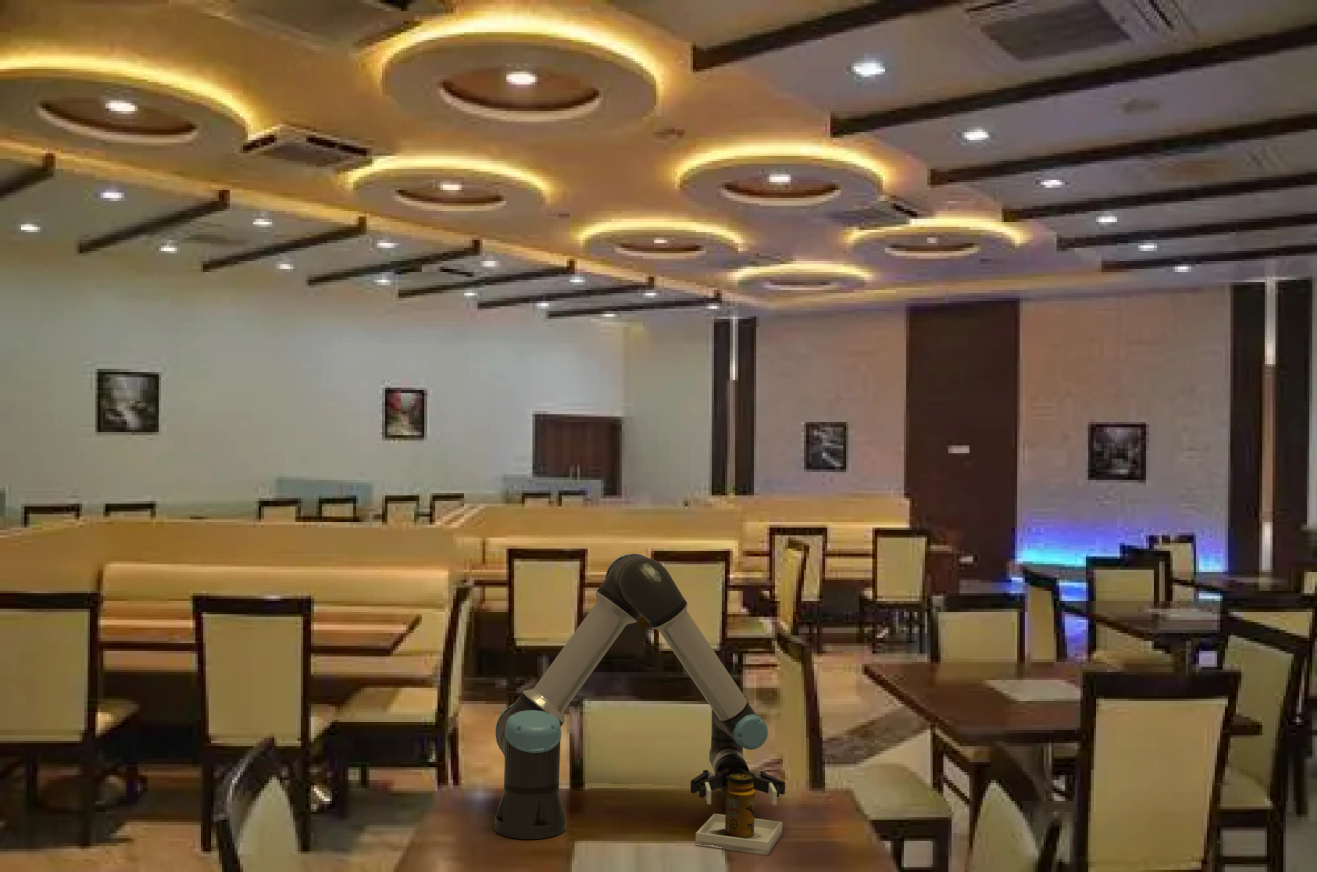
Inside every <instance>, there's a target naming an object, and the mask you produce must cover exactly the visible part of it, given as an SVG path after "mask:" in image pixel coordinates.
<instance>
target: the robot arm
mask: <svg viewBox="0 0 1317 872" xmlns="http://www.w3.org/2000/svg"><path fill="white" fill-rule="evenodd" d="M595 598H596V599H595V600H596V601H595V604H594V605H593V606H592V608H591V609H590V611H589V612H588V613H587V615H586V616H585V617H584V619H583V620H582V621H581V623H580V625H578V627H577V628H576V630H575V631H574V632H573V634H572V636H571V637H570V638H569V640H568V641H567V642H566V643H565V645H564V646H563V648H561V650H560V652H559V653H558V654H557V656H556V657H555V659H554V660H553V661H552V663H551V664H550V665H549V667H548V668H547V669H546V671H545V672H544V674H543V675H542V676H541V678H540V679H539V680H538V682H537V683H536V684H535V686H534V687H533V688H531V689H526V690H523V691H522V692H521V694H520V695H519V696H518V698H517V699H515V700H516V701H515V702H514V703H512V704H511V705H509V706H507V707H506V708H505V709H504V710H503V711H502V712H501V714H500V715H499V717H498V719H497V721H496V725H495V739H496V743H497V746H498V748H499V749H500V751H501V753H502V755H503V756H504V769H503V771H504V773H503V774H504V776H503V777H504V778H503V781H504V782H503V792H502V796H501V798H500V802H499V803H498V807H497V811H496V813H495V816H494V823H493V825H494V831H495V832H496V833H498V834H499V835H501V836H503V837H506V838H510V839H511V838H512V839H518V840H540V839H545V838H552V837H555V836H558V835H560V834H563V832H565V831H566V829H567V815H566V811H565V807H564V804H563V801H562V797H561V794H560V763H561V739H562V729H561V727H562V726H563V725H564V723H565V722H566V721H565V720H566V719H565V710H566V709H567V708H568V706H569V705H570V703H571V702H572V701H573V699H574V698H575V697H576V695H577V694H578V693H579V691H580V690H581V688H582V687H583V685H584V684H585V683H586V681H587V680H588V678H589V677H590V676H591V675H592V673H593V672H594V670H595V669H596V668H597V666H598V665H599V663H600V662H601V661H602V659H603V658H604V656H606V653H608V651H609V650H610V648H611V647H612V645H613V644H614V642H615V641H616V640H617V639H618V637H619V635H620V634H621V633H622V632H623V630H624V629H625V628H626V626H627V625H630V624H634V623H637V622H638V621H639V619H640V618H641V617H642V618H644V620H645V621H646V622H647V623H648V625H649V626H650V628H651V629H653V630H657V631H659V633H660V634H661V636H662V637H663V639H664V640H665V642H666V643H667V645H668V647H669V648H670V649H671V651H672V652H673V653H674V655H675V656H676V658H677V659H678V661H679V662H680V664H681V665H682V667H683V668H684V670H685V671H686V673H687V674H688V676H689V677H690V678H691V679H692V681H693V683H694V684H695V686H696V687H697V688H698V690H699V692H700V693H701V694H702V696H703V698H704V699H705V701H706V702H707V703H708V705H709V706H710V708H711V737H710V748H709V752H708V753H709V756H708V758H709V762H710V765H711V766H712V769H713V774H712V773H711V772H710V771H709V770H708V769H704V770H703V771H702V772H701V773H700V774H699V775H697V776H696V777H694V778H692V779H691V780H690V793H691V794H696V793H697V792H698V797H699V798H702V799H703V798H705V801H706V804H707V805H712V792H713V791H716V790H725V791H726V790H727V788H728V782H729V781H728V778H729V776H730V775H731V774H748V775H750V776H752V777H753V789H754V791H759V792H763V793H766V794H768V798H769V800H770V802H771V804H772V806H777V804H778V803H777V800H778V798H780V795H785V793H786V782H785V781H784V780H781V779H779V778H777V777H775V776H773V775H770V774H768V773H766V771H763V770H760V771H758V772H757V773H758V774H755V773H754V772H752V771H750V768H749V766H748V764H747V762H746V760H745V757H744V749H745V750H748V751H749V750H750V751H751V750H752V751H753V750H757V749H759V748H760V747H762V746H763V745H764V744H765V742H766V741H767V739H768V735H769V730H768V725H767V723H766V722H765V721H764V720H763V718H762V716H759V715H758V714H757V713H756V712H755V710H754V709H753V708H752V706H751V704H750V702H748V700H747V698H746V697H745V695H744V694H743V693H742V691H741V689H740V688H739V686H738V685H737V683H736V681H734V679H733V677H732V676H731V674H730V673H729V672H728V670H727V669H726V667H725V665H724V663H722V661H721V660H720V658H719V656H718V655H717V653H716V652H715V651H714V649H713V648H712V646H711V645H710V643H709V641H708V640H707V639H706V637H705V636H704V634H703V632H702V631H701V630H700V628H699V627H698V625H697V624H696V622H695V621H694V619H693V618H692V616H691V614H690V613H689V612H688V605H689V603H688V602H687V600H686V599H685V597H684V596H683V594H682V592H681V591H680V589H679V588H678V586H677V584H676V583H675V581H674V580H673V577H672V576H671V574H670V573H669V571H668V570H667V568H666V567H665V566H664V565H663V564H662V563H661V562H659V561H657V560H656V559H654V558H650V557H648V556H645V555H642V554H639V553H628V554H624V555H621V556H618V557H616V559H614V560H613V561H612V562H611V564H610V565H609V566H608V568H607V571H606V574H605V578H604V580H603V582H601V584H600V586H599V587H598V588H597V590H596V591H595Z"/></svg>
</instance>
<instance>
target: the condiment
mask: <svg viewBox="0 0 1317 872" xmlns="http://www.w3.org/2000/svg"><path fill="white" fill-rule="evenodd" d="M728 781H729V782H728V788H727V790H725V815H726V816H725V829H721V830H712V831H709V832H711V833H712V834H714V835H722V836H729V837H737V838H745V839H752V838H757V837H761V835H760V834H757V833H755V832H754V819H755V813H756V812H755V805H756V802H755V801H756V790H755V789H753V777H752V776H750V775H748V774H731V775H730V776H729V778H728Z"/></svg>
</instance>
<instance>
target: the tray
mask: <svg viewBox="0 0 1317 872" xmlns="http://www.w3.org/2000/svg"><path fill="white" fill-rule="evenodd" d="M725 816H726V814H721V813H713V814H712V815H711V816H710V817H709V819H707V821H706V822H704V823H703V825H702V826H701V827H700V828H699V829H698V830H697V831H696V832H695V845H696V844H701V845H714V846H718V847H722V848H725V849H726V850H727V851H731V852H732V851H735V852H742V853H748V854H749V853H750V854H756V855H763V856H768V855H769V854H770V853H771V851H772V850H773V848H774V847H775V845H776V844H777V842H778V841H779V839H780V837H781V836H782V835H783V821H778V820H777V821H776V820H770V819H762V818H754V832H755V833H757V834H760V835H761V837H757V838H752V839H745V838H737V837H729V836H722V835H714V834H712V833H711V832H709V831H712V830H721V829H725ZM725 849H724V850H725ZM726 850H725V851H726Z"/></svg>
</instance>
